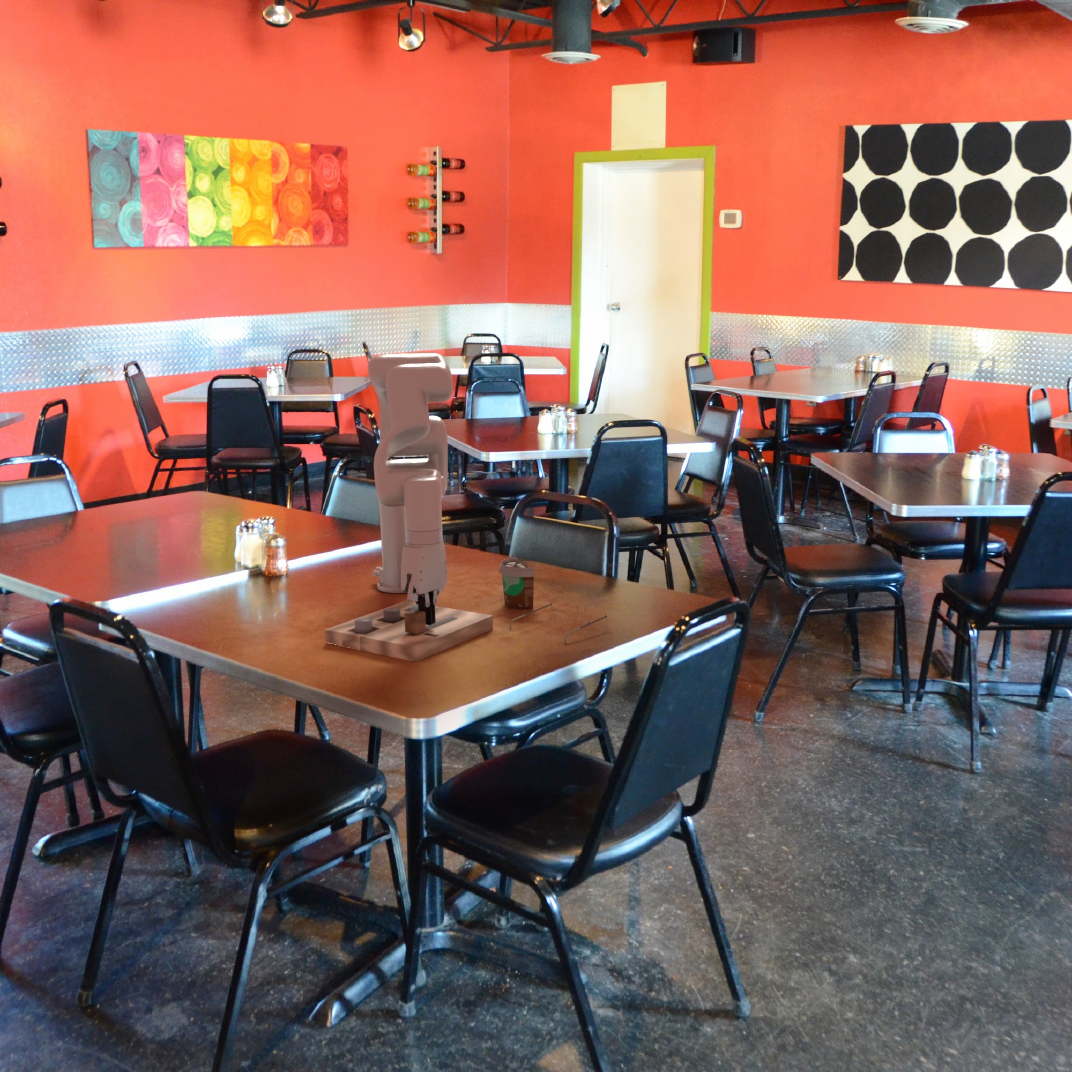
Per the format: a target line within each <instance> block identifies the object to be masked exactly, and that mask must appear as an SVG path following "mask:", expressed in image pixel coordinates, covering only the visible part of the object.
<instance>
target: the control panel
mask: <svg viewBox="0 0 1072 1072" xmlns="http://www.w3.org/2000/svg"><path fill="white" fill-rule="evenodd" d="M414 605H416V602H415V601H409V600H405V601H402V602H399V603H395V604H393V605H391V606H388V607H385V608H381V609H380V610H377V611H374V612H370V613H368V614H365V615H362V616H360V617H357V618H354V619H350V620H348V621H345V622H343V623H340V624H337V625H335V626H332V627H328V628H325V643H326V642H329V643H333V644H336V645H340V646H339V647H341V646H344V647H343V648H346V647H350V648H349V649H351V648H353V649H352V650H355V649H357V650H356V651H360V650H362V651H361V652H365V651H366V652H367V653H370V652H371V653H370V654H377V655H381V656H386V657H391V658H395V659H400V660H406V661H411V662H415V663H417V662H419V661H422V660H423V659H426V658H429V657H431V656H433V655H435V654H438V653H440V652H443V651H445V650H447V649H450V648H452V647H456V645H460V644H461V643H464V642H466V641H468V640H471V639H474V638H475V637H477V636H480V635H483V634H485V633H487V632H489V631H492V630H493V629H494V618H493V617H494V615H492V614H491V615H490V614H485V613H480V612H475V611H473V612H472V611H467V610H462V609H455V608H450V607H444V606H438V605H435V619H436V623H434V624H432V625H426V631H424V632H421V633H419V634H412V633H407V632H405V614H404V613H406V612H409V611H411V606H414ZM387 608H399V609H400V616H401V621H399V622H397V623H394V624H392V623H387V622H384V617H383V610H384V609H387ZM359 618H370V619H372V628H373V632H370V633H367V634H360V633H355V620H356V619H359ZM336 645H335V646H336ZM366 652H365V653H366Z"/></svg>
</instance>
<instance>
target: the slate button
mask: <svg viewBox="0 0 1072 1072" xmlns="http://www.w3.org/2000/svg"><path fill="white" fill-rule="evenodd" d="M358 618H359V617H358ZM355 619H356V618H355ZM370 632H373V628H372V619H370V618H359V619H356V620H355V633H360V634H367V633H370Z"/></svg>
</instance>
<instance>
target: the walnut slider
mask: <svg viewBox="0 0 1072 1072" xmlns="http://www.w3.org/2000/svg"><path fill="white" fill-rule="evenodd" d="M404 614H405V632H407V633H412V634H419V633H421V632H424V631H426V616H425V612H424V611H418V610H412V611H409V612H406V613H404Z"/></svg>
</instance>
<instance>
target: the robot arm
mask: <svg viewBox="0 0 1072 1072" xmlns="http://www.w3.org/2000/svg"><path fill="white" fill-rule="evenodd" d="M367 372H368V373H367V374H368V379H369V381H370V383H371V386H372V388H373V389H374V392H375V393H376V397H377V400H378V413H379V415H378V417H379V422H378V423H379V444H378V446H377V447H376V451H375V454H374V459H373V474H374V484H375V485H374V486H375V492H376V497H377V499H378V506H379V519H380V522H379V523H380V539H381V541H380V543H381V561H382V565H381V566H376V567H375V568H374V570H373V571H372V573H371V574H372V576H373V577H378V578H379V581H378V582H377V583H376V589H377V590H378V591H380V592H384V593H391V594H407V599H406V600H407V601H409V602H415V603H416V605H418V611H424V612H425V616H426V625H432V624H434V623H436V619H435V606H436V604H437V602H438V596H439V594H441V592H442V591H444V590H445V586H446V584H447V580H448V566H447V556H446V548H445V544H444V540H443V539H444V538H443V516H442V515H443V513H442V512H443V511H442V499H443V497H444V496H445V494H446V492H447V489H448V479H449V477H448V476H449V473H448V472H449V471H448V470H449V469H448V466H449V465H448V464H449V462H448V461H449V459H448V458H449V457H448V455H449V454H448V453H449V452H448V450H449V449H448V447H449V444H448V442H449V441H448V431H447V426H446V423H445V422H444V420H443V419H442V418H441V417H440V416H437V415H430V412H429V405H428V403H444V402H449V400H451V398H452V396H453V392H454V380H453V379H454V378H453V375H452V372H451V368H450V367H449V363H447V361H446V360H445V359H444V357H443V356H442V355H441V354H440V353H430V352H428V353H389V354H388V353H386V354H379V355H375V356H373V357H371V358H370V360H369V361H368V365H367ZM391 457H394V458H397V459H390V458H391ZM404 457H405V458H404ZM407 457H409V458H407ZM410 457H420V458H410ZM421 457H424V458H421ZM426 457H427V458H426ZM398 458H399V459H398Z"/></svg>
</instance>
